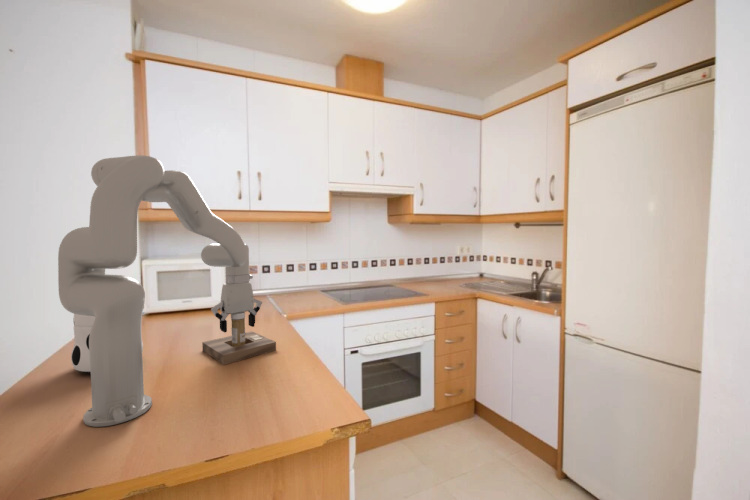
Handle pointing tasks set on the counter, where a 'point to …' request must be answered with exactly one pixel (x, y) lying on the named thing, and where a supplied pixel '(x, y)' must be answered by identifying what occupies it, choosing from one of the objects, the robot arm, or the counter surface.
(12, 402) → the counter surface
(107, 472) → the counter surface
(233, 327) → the sprinkles bottle
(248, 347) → the socket board
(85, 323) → the milk container
